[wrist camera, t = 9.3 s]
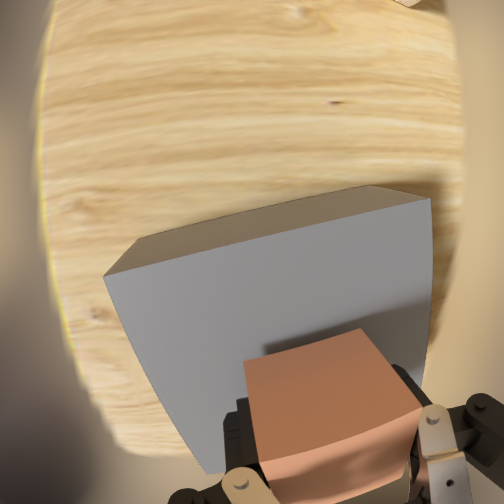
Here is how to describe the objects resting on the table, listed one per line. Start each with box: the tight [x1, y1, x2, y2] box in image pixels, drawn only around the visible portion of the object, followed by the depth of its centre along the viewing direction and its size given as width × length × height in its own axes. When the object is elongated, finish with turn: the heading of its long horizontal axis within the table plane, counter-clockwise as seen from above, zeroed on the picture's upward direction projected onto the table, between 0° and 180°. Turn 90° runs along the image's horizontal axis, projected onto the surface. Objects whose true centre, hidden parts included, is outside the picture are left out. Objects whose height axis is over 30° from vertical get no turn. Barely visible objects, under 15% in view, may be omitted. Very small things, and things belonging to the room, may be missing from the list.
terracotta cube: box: [243, 328, 423, 504], centre depth 10 cm, size 5×5×5 cm
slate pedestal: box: [103, 185, 433, 474], centre depth 16 cm, size 14×14×6 cm
